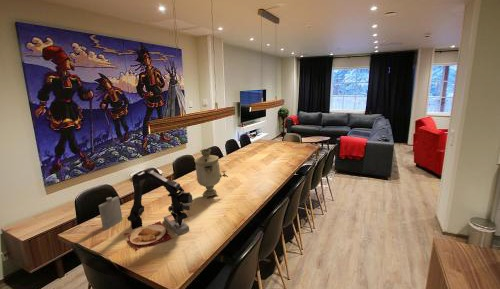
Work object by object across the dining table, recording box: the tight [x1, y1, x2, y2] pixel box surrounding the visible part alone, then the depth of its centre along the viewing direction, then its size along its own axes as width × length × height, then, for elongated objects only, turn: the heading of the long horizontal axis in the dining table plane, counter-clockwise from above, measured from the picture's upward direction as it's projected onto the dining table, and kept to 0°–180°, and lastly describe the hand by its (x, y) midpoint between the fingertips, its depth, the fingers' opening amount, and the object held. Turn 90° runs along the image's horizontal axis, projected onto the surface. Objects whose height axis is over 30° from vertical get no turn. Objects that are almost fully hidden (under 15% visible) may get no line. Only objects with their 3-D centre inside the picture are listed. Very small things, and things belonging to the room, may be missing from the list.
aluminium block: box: [174, 219, 184, 228], centre depth 174 cm, size 4×4×6 cm
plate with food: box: [123, 220, 173, 252], centre depth 168 cm, size 24×26×4 cm
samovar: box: [194, 148, 229, 200], centre depth 221 cm, size 30×26×40 cm
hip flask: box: [98, 196, 123, 231], centre depth 184 cm, size 16×4×20 cm, turn 161°
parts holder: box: [163, 214, 190, 236], centre depth 179 cm, size 8×24×3 cm, turn 36°
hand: (179, 224), depth 174 cm, fingers closed on aluminium block, 4 cm apart
